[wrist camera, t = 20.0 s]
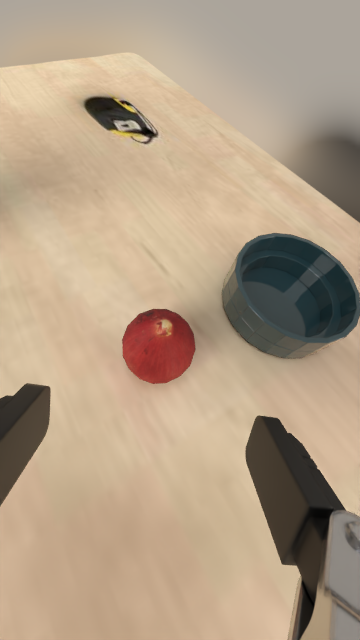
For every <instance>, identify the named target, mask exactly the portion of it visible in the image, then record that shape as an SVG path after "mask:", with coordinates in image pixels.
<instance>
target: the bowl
mask: <svg viewBox="0 0 360 640" xmlns="http://www.w3.org/2000/svg"><path fill="white" fill-rule="evenodd" d="M222 297H223V304H224V309H225V312H226V314H227V316H228V318H229V320H230V322H231V324H232V325H233V327H234V328H235V329H236V330H237V331H238V332H239V333H240V334H241V335H242V337H243V338H244V339H245V340H246V341H247V342H249V343H251V344H252V345H254V346H255V347H257V348H258V349H260V350H261V351H263V352H265V353H269V354H272V355H275V356H278V357H281V358H303V357H306V356H308V355H311V354H314V353H316V352H318V351H320V350H322V349H324V348H326V347H328V346H329V345H331V344H333V343H335V342H337V341H339V340H341V339H343V338H345V337H346V336H347V335H348V334H349V333H350V332H351V331H352V330H353V329H354V328H355V327H356V325H357V323H358V319H359V316H360V295H359V292H358V290H357V287H356V285H355V283H354V281H353V278H352V276H351V275H350V274H349V273H348V271H347V270H346V269H345V267H344V266H343V265H342V264H341V262H340V261H338V260H337V259H336V258H335V257H334V256H333V255H331V254H330V253H329V252H328V251H327V250H325V249H324V248H322V247H320V246H318V245H317V244H315V243H313V242H311V241H309V240H307V239H304V238H300V237H297V236H294V235H290V234H280V233H272V234H266V235H261V236H258V237H256V238H254V239H253V240H251V241H249V242H247V243H246V244H245V246H244V247H243V248H242V250H241V251H240V252H239V254H238V255H237V257H236V259H235V261H234V263H233V265H232V267H231V269H230V271H229V272H228V274H227V276H226V278H225V281H224V285H223V290H222Z"/></svg>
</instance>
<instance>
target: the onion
mask: <svg viewBox="0 0 360 640" xmlns="http://www.w3.org/2000/svg"><path fill="white" fill-rule="evenodd" d="M122 343H123V357H124V359H125V361H126V363H127V366H128V368H129V369H130V370H131V371H132V372H133V373H134V374H135V375H136V376H137V377H138V378H140V379H142V380H144V381H147V382H150V383H152V384H155V383H167V382H169V381H171V380H173V379H175V378H177V377H179V376H181V375H182V374H183V373H184V371H185V370H186V369H187V368H188V367H189V366H190V364H191V361H192V358H193V355H194V352H195V341H194V334H193V332H192V330H191V328H190V326H189V324H188V323H187V322H186V321H185V320H184V319H183V318H182V317H181V316H180V315H179V314H177V313H174V312H172V311H170V310H167V309H152V310H149V311H146V312H143V313H141V314H139V315H138V316H137V317H136V318H135V319H134V320H133V321H132V322H131V323H130V324H129V325H128V326H127V329H126V331H125V334H124V336H123V339H122Z"/></svg>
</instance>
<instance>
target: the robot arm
mask: <svg viewBox="0 0 360 640" xmlns="http://www.w3.org/2000/svg"><path fill="white" fill-rule="evenodd" d="M49 415H50V387H49V386H43V385H36V384H28V383H27V384H25V385H24V386H23V387H22V388H21V389H20V390H19V391H18V392H17V393H16V394H15V395H14V396H5V397H3V398H1V399H0V506H1V504H2V503H3V501H4V500H5V498H6V496H7V495H8V493H9V492H10V490H11V489H12V487H13V485H14V484H15V482H16V481H17V479H18V478H19V476H20V475H21V473H22V471H23V470H24V468H25V467H26V465H27V464H28V462H29V461H30V459H31V457H32V456H33V454H34V453H35V451H36V450H37V448H38V446H39V445H40V443H41V442H42V440H43V439H44V437H45V434H46V432H47V429H48V425H49ZM246 462H247V466H248V468H249V471H250V474H251V477H252V480H253V483H254V486H255V488H256V491H257V494H258V497H259V500H260V503H261V506H262V508H263V511H264V514H265V517H266V520H267V523H268V526H269V528H270V531H271V534H272V537H273V540H274V543H275V545H276V548H277V551H278V554H279V557H280V560H281V563H282V564H283V565H295V566H297V567H298V569H299V572H300V574H301V576H300V578H299V580H298V583H297V589H296V594H295V600H294V606H293V611H292V617H291V623H290V628H289V634H288V640H360V517H359V516H357V515H355V514H353V513H351V512H348V511H346V510H345V508H344V507H343V505H342V504H341V502H340V501H339V499H338V498H337V496H336V494H335V493H334V491H333V490H332V488H331V487H330V485H329V484H328V482H327V481H326V479H325V478H324V476H323V475H322V473H321V472H320V470H318V469H317V466H316V464H315V463H314V461H313V460H312V459H311V458H310V455H309V454H308V452H307V450H306V449H305V447H304V446H303V444H302V443H300V442H299V441H298V440H297V439H296V438H295V437H294V436H293V435H292V434H291V433H287V431H286V430H285V428H284V426H283V425H282V423H281V422H280V420H279V419H278V418H273V417H266V416H257V417H256V419H255V421H254V424H253V427H252V430H251V433H250V437H249V440H248V443H247V446H246Z"/></svg>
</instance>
